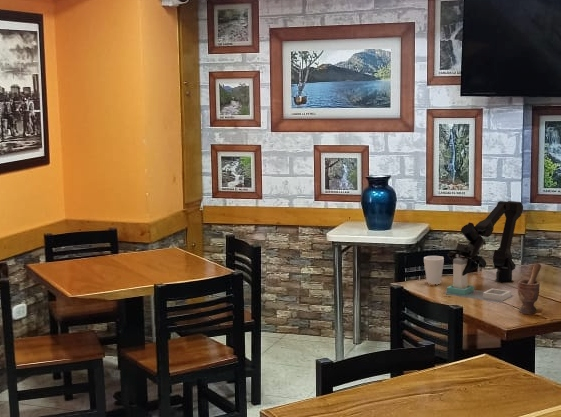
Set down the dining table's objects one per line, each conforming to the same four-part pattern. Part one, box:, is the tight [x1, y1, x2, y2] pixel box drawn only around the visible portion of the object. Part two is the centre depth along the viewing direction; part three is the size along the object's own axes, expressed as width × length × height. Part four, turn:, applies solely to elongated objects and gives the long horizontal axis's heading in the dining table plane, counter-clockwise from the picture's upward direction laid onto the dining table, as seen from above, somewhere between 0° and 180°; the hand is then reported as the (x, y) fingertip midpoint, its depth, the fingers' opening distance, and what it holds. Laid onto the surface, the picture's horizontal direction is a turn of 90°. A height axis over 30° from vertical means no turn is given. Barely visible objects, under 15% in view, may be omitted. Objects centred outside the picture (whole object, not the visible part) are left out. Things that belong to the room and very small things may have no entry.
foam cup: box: [423, 255, 445, 284], centre depth 390 cm, size 10×9×13 cm
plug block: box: [452, 258, 468, 289], centre depth 370 cm, size 4×4×14 cm
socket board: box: [442, 284, 515, 304], centre depth 366 cm, size 28×14×4 cm, turn 51°
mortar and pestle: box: [517, 262, 542, 315], centre depth 339 cm, size 12×9×20 cm
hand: (458, 274), depth 369 cm, fingers closed on plug block, 4 cm apart
